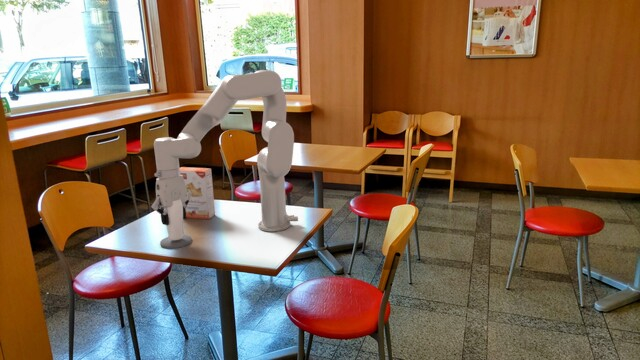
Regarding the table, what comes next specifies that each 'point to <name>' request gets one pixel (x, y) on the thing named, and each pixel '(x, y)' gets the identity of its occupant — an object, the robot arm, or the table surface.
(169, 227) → the drinking glass
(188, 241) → the coaster
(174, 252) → the table surface
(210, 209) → the cracker box
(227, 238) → the table surface
